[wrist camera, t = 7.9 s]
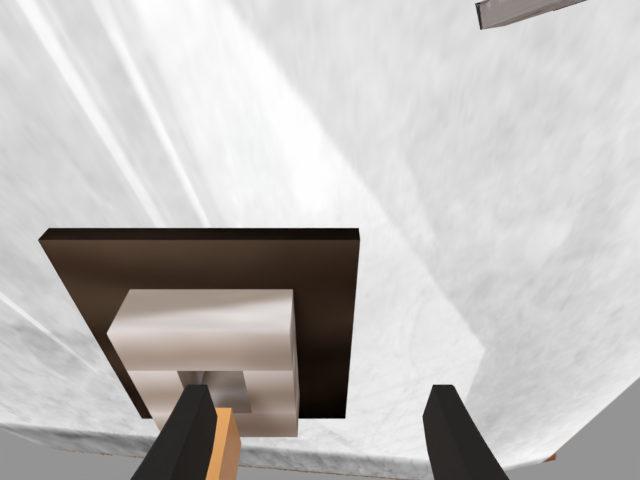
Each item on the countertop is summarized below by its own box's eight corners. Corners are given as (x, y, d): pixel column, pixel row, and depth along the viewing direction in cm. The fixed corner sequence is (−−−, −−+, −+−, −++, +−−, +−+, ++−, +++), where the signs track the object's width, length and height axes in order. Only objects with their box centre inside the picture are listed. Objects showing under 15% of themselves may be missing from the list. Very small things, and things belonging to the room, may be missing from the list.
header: (48, 227, 20) (-2, 283, 17) (358, 227, 20) (365, 282, 17) (146, 406, 31) (127, 459, 28) (344, 406, 31) (347, 459, 28)
